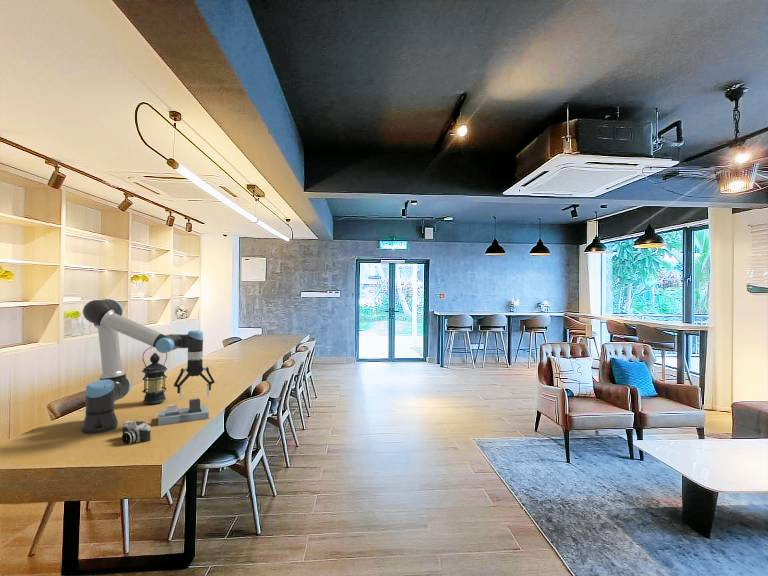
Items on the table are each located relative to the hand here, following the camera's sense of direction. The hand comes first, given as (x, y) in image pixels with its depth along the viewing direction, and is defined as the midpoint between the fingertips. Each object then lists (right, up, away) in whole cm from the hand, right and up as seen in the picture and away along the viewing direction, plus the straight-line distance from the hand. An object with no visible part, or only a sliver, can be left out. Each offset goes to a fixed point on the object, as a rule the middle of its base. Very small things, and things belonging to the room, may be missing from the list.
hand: (194, 397), depth 222 cm
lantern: (-38, -11, +29) cm, 49 cm away
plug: (0, -11, 0) cm, 11 cm away
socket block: (-5, -11, -2) cm, 12 cm away
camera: (-12, -11, -34) cm, 38 cm away
